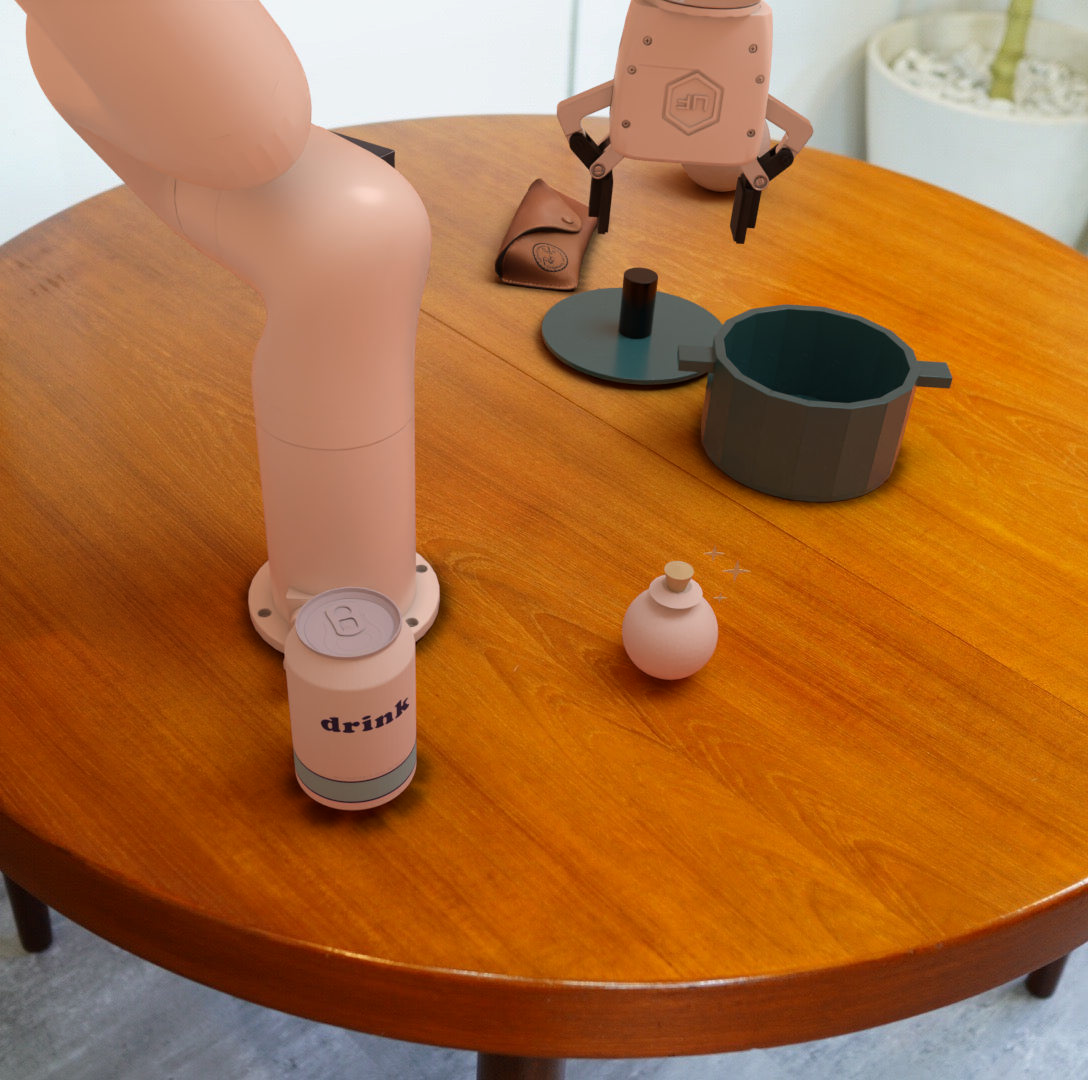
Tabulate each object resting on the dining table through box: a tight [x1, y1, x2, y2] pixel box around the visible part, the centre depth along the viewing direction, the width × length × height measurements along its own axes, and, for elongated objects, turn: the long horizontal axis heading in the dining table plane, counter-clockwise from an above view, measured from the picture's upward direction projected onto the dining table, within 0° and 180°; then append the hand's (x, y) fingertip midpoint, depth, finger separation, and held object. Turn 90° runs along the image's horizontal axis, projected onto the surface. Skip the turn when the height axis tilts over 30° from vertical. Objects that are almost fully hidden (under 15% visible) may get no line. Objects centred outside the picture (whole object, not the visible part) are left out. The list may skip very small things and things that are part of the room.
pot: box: [677, 303, 954, 503], centre depth 104 cm, size 16×21×8 cm
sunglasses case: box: [494, 177, 597, 291], centre depth 131 cm, size 18×7×7 cm
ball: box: [681, 119, 771, 193], centre depth 144 cm, size 10×10×10 cm
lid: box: [541, 267, 723, 386], centre depth 116 cm, size 17×17×7 cm
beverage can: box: [283, 587, 417, 811], centre depth 73 cm, size 7×7×12 cm
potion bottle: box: [621, 544, 751, 681], centre depth 82 cm, size 6×7×10 cm
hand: (669, 231), depth 93 cm, fingers open, 9 cm apart
